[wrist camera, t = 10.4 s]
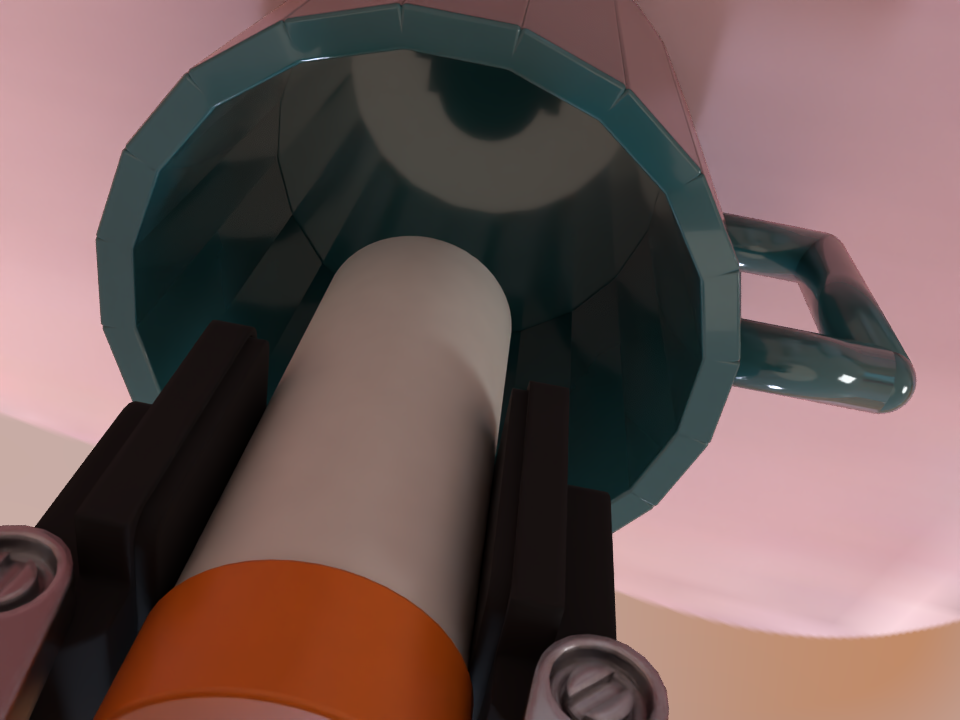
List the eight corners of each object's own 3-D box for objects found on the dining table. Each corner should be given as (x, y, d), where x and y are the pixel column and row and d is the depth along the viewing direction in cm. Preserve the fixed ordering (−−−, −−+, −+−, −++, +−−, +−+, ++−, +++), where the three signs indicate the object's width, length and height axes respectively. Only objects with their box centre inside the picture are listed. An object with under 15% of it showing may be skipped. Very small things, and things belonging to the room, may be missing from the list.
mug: (256, 297, 25) (112, 519, 17) (273, -119, 19) (74, -62, 12) (754, 394, 25) (829, 657, 17) (909, 6, 20) (1116, 142, 12)
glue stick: (327, 210, 15) (55, 655, 7) (536, 250, 15) (489, 738, 7) (312, 384, 16) (83, 889, 9) (498, 419, 17) (428, 953, 9)
